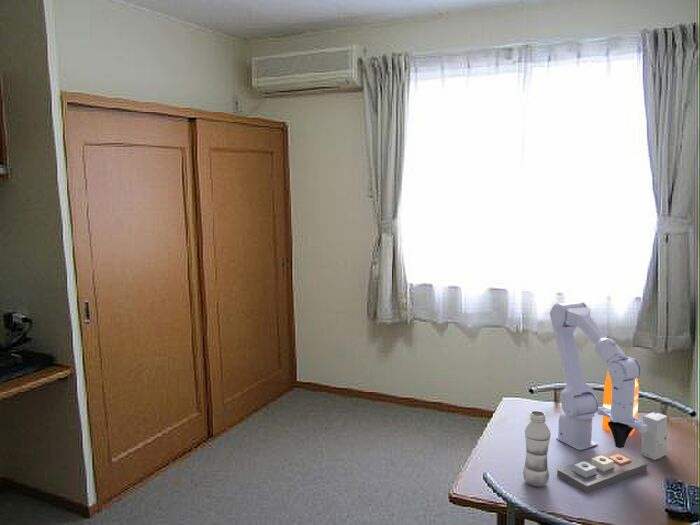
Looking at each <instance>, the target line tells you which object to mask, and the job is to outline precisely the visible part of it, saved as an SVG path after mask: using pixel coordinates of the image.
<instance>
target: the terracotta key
mask: <svg viewBox="0 0 700 525" xmlns="http://www.w3.org/2000/svg"><path fill="white" fill-rule="evenodd" d="M609 459H611V460H613V461H614V463H616V464H618V465H620V466H622V465H625V464H628V463H630V459H628V458H626V457H624V456H622V455H619V454H616V455H614V456H611V457H609Z"/></svg>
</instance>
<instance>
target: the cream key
mask: <svg viewBox="0 0 700 525" xmlns="http://www.w3.org/2000/svg"><path fill="white" fill-rule="evenodd" d="M600 455H601V454H600ZM597 456H598V455H597ZM594 457H595V456H594ZM591 458H592V457H591ZM592 465H593V466H595V467H596V468H598V469H600V470H602V471H606V470H609V469H612V468H614V461H613V460H611V459H608V458H606V457H604V456H602V455H601V456H598V457H595V458H592Z"/></svg>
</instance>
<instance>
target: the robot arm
mask: <svg viewBox="0 0 700 525" xmlns="http://www.w3.org/2000/svg"><path fill="white" fill-rule="evenodd" d="M549 316H550V320H551V325H552V329H553V332H554V338H555V341H556V342H555V343H556V346H557V350H558V354H559V358H560V362H561V366H562V371H563V374H564V380H565V384H566V386H565V387H564V389H563V390H562V392H561V393H560V395H561V408H562V412H561V414H560V415H559V418H558V432H557V433H558V435H557V436H556V440H558V441H560V442H562V443H564V444H566V445H568V446H570V447H572V448H574V449H576V450H578V451H583V450H586V449H590V448H593V447H596V446H599V444H598V442H596V441H593V440H592V438H593V436H592V434H593V433H592V432H593V418H594V417H595V413H597V414H596V415H599V416H603V415H604V416H606V417H608V418H610V419H609V420H610V422H608V426H609V428H610V429H611V434H612V437H613V440H614V445H615V448H618V449H622V448H624V447H625V446H626V442H627V440H628V438H629V437H630V435H629V434H630V433H631V431H632V430H633V429H635V431H636V430H637V431H638V432H639V433H641V434H643V433H645V432H647V425H646V424H644V423H643V421H640V420H639V419H638V418H637V419H636V418H635V417H633V409H634V394H635V379H636V378H640V376H641V375H642V369H641V365H640V363H639V362H638V360H637V359H636V358H634V357H630V356H629V355H627V354H625V353H624V351H623V350H622V349H621V348H620V346H619V345H618V344H617V342H616V341H615V339H612V338H610V337H606V336H605V335H604V333H603V332H602V331H601V329H600V328H599V326H598V325H597V324H596V322H595V321H594V319H593V318H592V316H591V309H590V308H589V307H588V306H587V304H586V303H585V302H584V301H582V300H577V301H572V302H561V303H554V304H553V305H552V307H551V309H550V312H549ZM577 328H579V329H580V330H581V331H582V332H583V333H584V334H585V335H586V336H587V337H588V338H589V339H590V341H592V342H593V344H594V351H595V352H596V353H597V355H598V356H599V357H600V358H601V360H603V362H604V363H605V365H606V366H607V371H608V373H609V375H610V378H611V385H612V399H611V409H608V408H605V407H603V406H600V403H599V399H598V397H597V396H596V394H595V390H594V388H593V387H592V386H590V385H589V384H587V383H586V382H585V378H584V373H583V369H582V365H581V360H580V356H579V354H578V349H577V344H576V340H575V336H574V332H575V330H576V329H577ZM608 367H609V368H608ZM633 379H634V380H633Z"/></svg>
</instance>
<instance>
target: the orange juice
mask: <svg viewBox="0 0 700 525" xmlns="http://www.w3.org/2000/svg"><path fill="white" fill-rule="evenodd" d="M608 368H609V367H608V366H607V369H608ZM638 378H639V377H638ZM638 378H636V379H635V394H634V409H633V417H635V418H636V419H638V410H639V409H638V408H639V390H640V385H639V379H638ZM633 380H634V379H633ZM611 399H612V385H611V378H610V375H609V373H608V370H607V373H606V376H605V382H604V387H603V404H602V407H605V408H608V409H611ZM609 419H610V418H608V417H606V416H604V415H602V427H601V429H602V430H606V431H611V429H610V428H609V426H608V422H610V420H609ZM635 431H636V429H633V430H632V431H631V433H630V434H629V437H630V436H632V435H633V434H634V432H635Z"/></svg>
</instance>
